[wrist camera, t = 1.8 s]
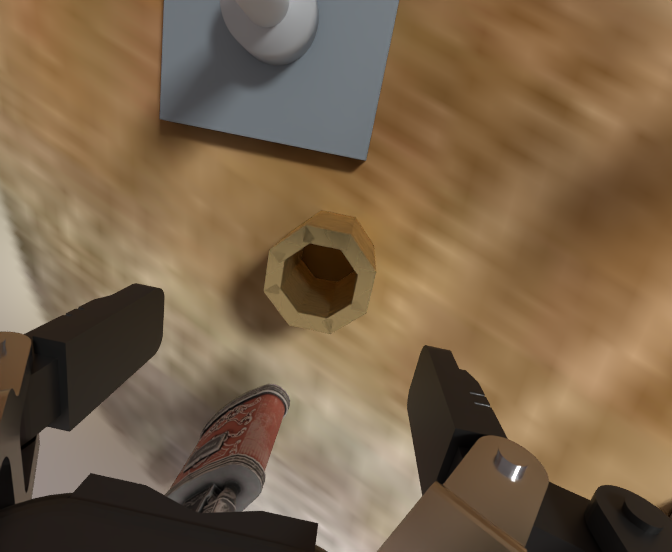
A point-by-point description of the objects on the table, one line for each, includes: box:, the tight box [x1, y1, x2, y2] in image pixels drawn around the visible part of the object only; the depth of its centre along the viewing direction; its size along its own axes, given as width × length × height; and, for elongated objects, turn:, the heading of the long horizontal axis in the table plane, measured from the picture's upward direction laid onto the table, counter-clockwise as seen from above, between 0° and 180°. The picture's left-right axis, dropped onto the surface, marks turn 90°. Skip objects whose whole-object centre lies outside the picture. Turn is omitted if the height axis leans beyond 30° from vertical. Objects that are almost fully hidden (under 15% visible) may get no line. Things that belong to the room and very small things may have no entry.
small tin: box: [165, 384, 290, 513], centre depth 23 cm, size 8×3×10 cm, turn 128°
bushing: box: [264, 211, 376, 334], centre depth 20 cm, size 5×5×6 cm
